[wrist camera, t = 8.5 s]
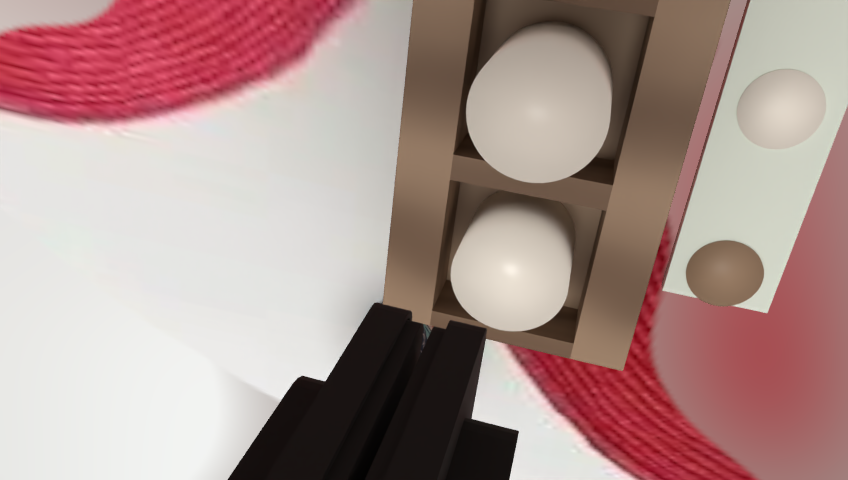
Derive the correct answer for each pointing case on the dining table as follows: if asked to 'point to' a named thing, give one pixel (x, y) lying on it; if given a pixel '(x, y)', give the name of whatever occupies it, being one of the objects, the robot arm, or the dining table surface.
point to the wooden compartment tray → (579, 193)
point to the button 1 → (515, 261)
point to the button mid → (542, 103)
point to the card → (762, 152)
